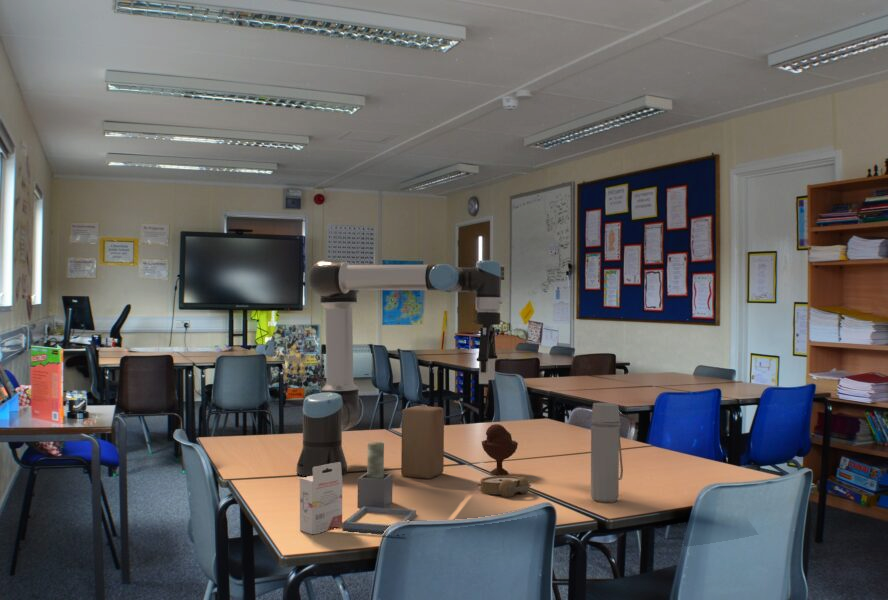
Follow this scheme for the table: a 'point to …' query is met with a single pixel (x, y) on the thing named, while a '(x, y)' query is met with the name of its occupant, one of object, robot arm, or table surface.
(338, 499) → the ink cartridge box
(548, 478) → the table surface
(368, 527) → the tray
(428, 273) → the robot arm
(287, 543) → the table surface
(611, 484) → the water bottle
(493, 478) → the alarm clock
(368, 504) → the pot
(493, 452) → the ice cream bowl
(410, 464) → the wooden block
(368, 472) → the dowel
